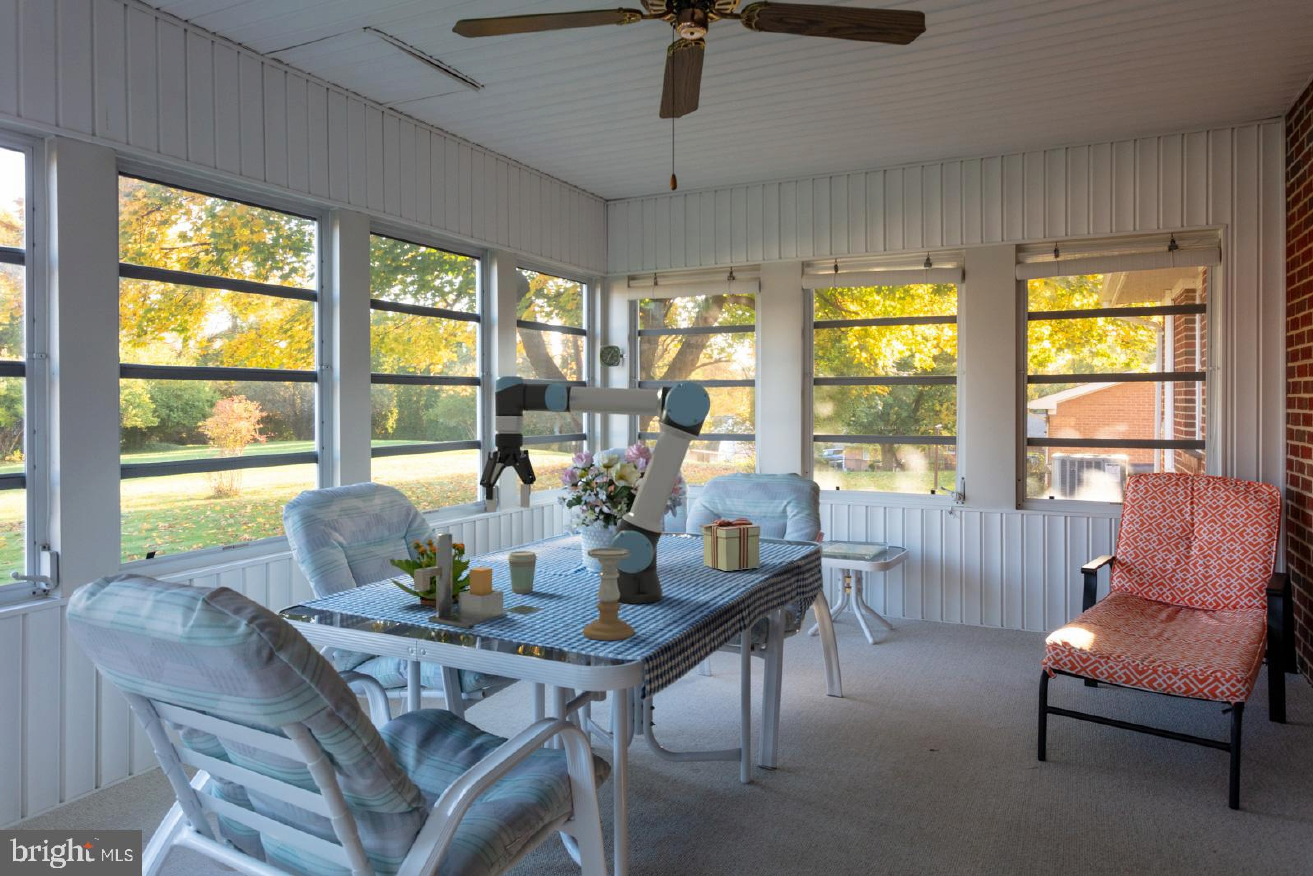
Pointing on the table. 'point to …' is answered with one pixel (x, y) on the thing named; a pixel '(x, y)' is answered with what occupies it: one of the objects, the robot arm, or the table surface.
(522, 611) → the plate
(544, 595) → the table surface
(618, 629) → the candle holder
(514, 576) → the coffee cup
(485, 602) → the grey post stand
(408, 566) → the potted flower
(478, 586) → the tan rectangular bar
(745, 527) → the gift box
